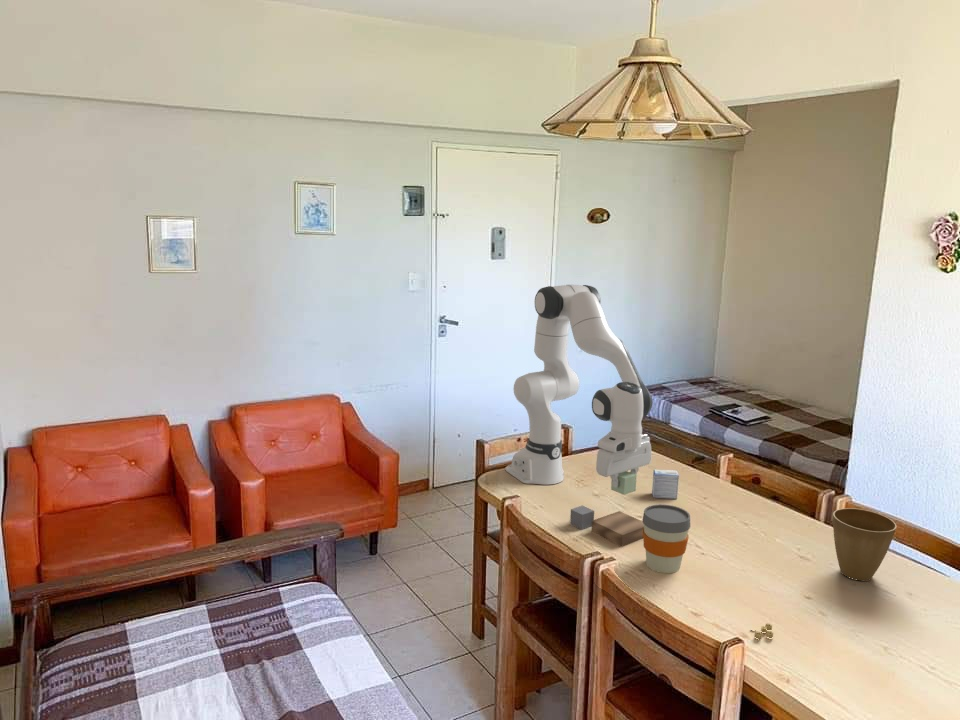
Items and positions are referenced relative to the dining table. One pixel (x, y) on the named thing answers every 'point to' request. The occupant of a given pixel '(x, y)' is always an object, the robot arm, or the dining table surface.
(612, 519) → the walnut plinth
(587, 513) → the charcoal block
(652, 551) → the reusable coffee cup
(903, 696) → the dining table surface
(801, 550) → the dining table surface
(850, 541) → the plant pot
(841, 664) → the dining table surface
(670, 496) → the medicine box
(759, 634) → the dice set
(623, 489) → the sage block
